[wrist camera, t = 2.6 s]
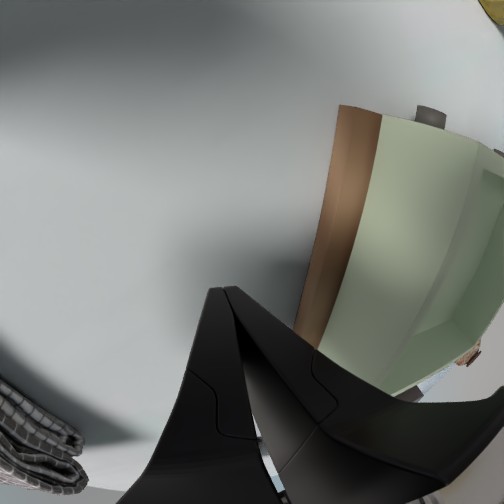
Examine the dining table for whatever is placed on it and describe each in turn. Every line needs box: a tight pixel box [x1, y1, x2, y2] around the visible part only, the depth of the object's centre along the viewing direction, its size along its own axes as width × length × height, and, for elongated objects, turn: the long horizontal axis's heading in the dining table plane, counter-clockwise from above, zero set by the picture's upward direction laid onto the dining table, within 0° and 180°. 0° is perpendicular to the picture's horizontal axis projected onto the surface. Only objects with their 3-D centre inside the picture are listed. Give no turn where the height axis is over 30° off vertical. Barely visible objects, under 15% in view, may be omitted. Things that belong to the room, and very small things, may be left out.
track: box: [293, 105, 382, 350], centre depth 14 cm, size 12×24×1 cm, turn 84°
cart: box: [318, 105, 504, 397], centre depth 11 cm, size 14×12×4 cm
